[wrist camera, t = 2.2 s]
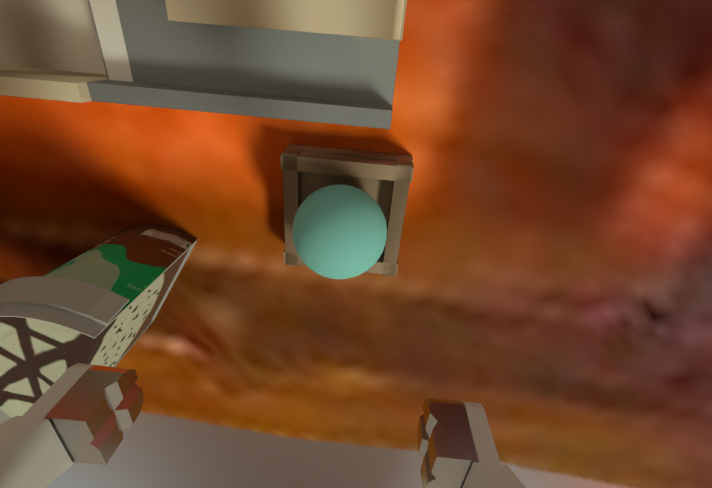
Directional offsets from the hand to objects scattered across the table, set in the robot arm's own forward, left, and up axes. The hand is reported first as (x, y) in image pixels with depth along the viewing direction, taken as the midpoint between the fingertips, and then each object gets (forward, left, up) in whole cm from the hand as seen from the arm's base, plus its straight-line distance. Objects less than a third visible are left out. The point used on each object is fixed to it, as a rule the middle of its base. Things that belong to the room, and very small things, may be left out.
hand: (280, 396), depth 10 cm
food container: (+14, +6, -14) cm, 21 cm away
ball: (-1, 0, -10) cm, 10 cm away
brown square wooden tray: (-1, 0, -14) cm, 14 cm away
